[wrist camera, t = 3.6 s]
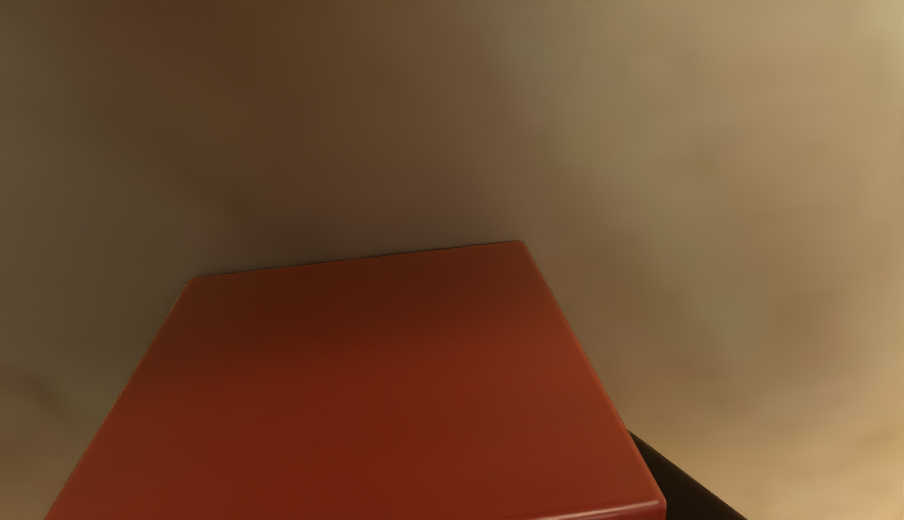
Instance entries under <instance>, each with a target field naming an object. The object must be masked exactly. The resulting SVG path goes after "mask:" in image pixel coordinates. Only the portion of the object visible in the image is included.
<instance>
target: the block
mask: <svg viewBox="0 0 904 520" xmlns="http://www.w3.org/2000/svg"><path fill="white" fill-rule="evenodd" d="M666 511H667V507H666V500H665V498H664V496H663V494H662V492H661V490H660V488H659V486H658V485H657V483H656V481H655V479H654V477H653V476H652V474H651V472H650V470H649V468H648V467H647V465H646V463H645V461H644V459H643V457H642V456H641V454H640V452H639V450H638V448H637V447H636V445H635V443H634V441H633V439H632V437H631V436H630V434H629V432H628V430H627V428H626V427H625V425H624V423H623V421H622V419H621V418H620V416H619V414H618V412H617V410H616V408H615V407H614V405H613V403H612V401H611V399H610V398H609V396H608V394H607V392H606V390H605V388H604V387H603V385H602V383H601V381H600V379H599V378H598V376H597V374H596V372H595V370H594V368H593V367H592V365H591V363H590V361H589V359H588V358H587V356H586V354H585V352H584V350H583V349H582V347H581V345H580V343H579V341H578V339H577V338H576V336H575V334H574V332H573V330H572V329H571V327H570V325H569V323H568V321H567V319H566V318H565V316H564V314H563V312H562V310H561V309H560V307H559V305H558V303H557V301H556V300H555V298H554V296H553V294H552V292H551V290H550V289H549V287H548V285H547V283H546V281H545V280H544V278H543V276H542V274H541V272H540V270H539V269H538V267H537V265H536V263H535V261H534V260H533V258H532V256H531V254H530V252H529V250H528V249H527V247H526V245H525V243H524V242H522V241H512V242H503V243H494V244H486V245H477V246H468V247H459V248H451V249H442V250H433V251H424V252H415V253H407V254H398V255H389V256H380V257H371V258H363V259H354V260H345V261H336V262H327V263H319V264H310V265H301V266H292V267H283V268H275V269H266V270H257V271H248V272H239V273H231V274H222V275H213V276H204V277H196V278H192V279H191V280H189V281H188V282H187V284H186V286H185V287H184V289H183V290H182V292H181V294H180V295H179V297H178V299H177V300H176V302H175V304H174V305H173V307H172V309H171V310H170V312H169V314H168V315H167V317H166V318H165V320H164V322H163V323H162V325H161V327H160V328H159V330H158V332H157V333H156V335H155V337H154V338H153V340H152V342H151V343H150V345H149V346H148V348H147V350H146V351H145V353H144V355H143V356H142V358H141V360H140V361H139V363H138V365H137V366H136V368H135V370H134V371H133V373H132V374H131V376H130V378H129V379H128V381H127V383H126V384H125V386H124V388H123V389H122V391H121V393H120V394H119V396H118V398H117V399H116V401H115V402H114V404H113V406H112V407H111V409H110V411H109V412H108V414H107V416H106V417H105V419H104V421H103V422H102V424H101V426H100V427H99V429H98V430H97V432H96V434H95V435H94V437H93V439H92V440H91V442H90V444H89V445H88V447H87V449H86V450H85V452H84V454H83V455H82V457H81V458H80V460H79V462H78V463H77V465H76V467H75V468H74V470H73V472H72V473H71V475H70V477H69V478H68V480H67V482H66V483H65V485H64V486H63V488H62V490H61V491H60V493H59V495H58V496H57V498H56V500H55V501H54V503H53V505H52V506H51V508H50V510H49V511H48V513H47V514H46V516H45V518H44V519H43V520H665V519H666Z"/></svg>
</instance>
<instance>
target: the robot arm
mask: <svg viewBox="0 0 904 520" xmlns="http://www.w3.org/2000/svg"><path fill="white" fill-rule="evenodd" d="M627 430H628V429H627ZM628 432H629V434H630V436H631V437H632V439H633V441H634V443H635V445H636V447H637V448H638V450H639V452H640V454H641V456H642V457H643V459H644V461H645V463H646V465H647V467H648V468H649V470H650V472H651V474H652V476H653V477H654V479H655V481H656V483H657V485H658V486H659V488H660V490H661V492H662V494H663V496H664V498H665V500H666V507H667V511H666V519H665V520H747V519H746V518H745V517H743V516H742V515H741V514H739V513H738V512H737V511H735V510H734V509H733V508H732V507H730V506H729V505H728V504H726V503H725V502H724V501H722V500H721V499H720V498H718V497H717V496H716V495H714V494H713V493H712V492H710V491H709V490H708V489H706V488H705V487H704V486H702V485H701V484H700V483H698V482H697V481H696V480H694V479H693V478H692V477H690V476H689V475H688V474H686V473H685V472H684V471H682V470H681V469H680V468H678V467H677V466H676V465H674V464H673V463H672V462H670V461H669V460H668V459H666V458H665V457H664V456H662V455H661V454H660V453H658V452H657V451H656V450H654V449H653V448H652V447H650V446H649V445H648V444H646V443H645V442H644V441H642V440H641V439H640V438H638V437H637V436H636V435H635V434H633V433H632V432H631V431H629V430H628Z"/></svg>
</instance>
